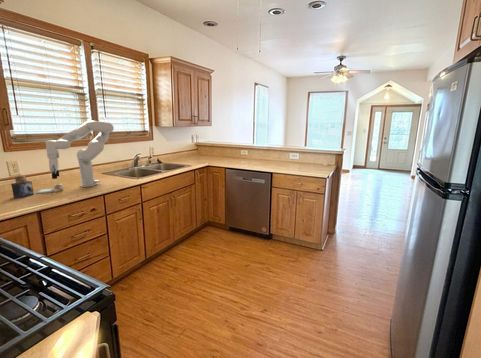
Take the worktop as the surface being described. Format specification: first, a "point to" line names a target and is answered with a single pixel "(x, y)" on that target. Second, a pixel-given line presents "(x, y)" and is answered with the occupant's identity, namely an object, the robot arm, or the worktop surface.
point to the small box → (22, 189)
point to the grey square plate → (45, 191)
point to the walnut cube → (20, 179)
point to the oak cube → (58, 187)
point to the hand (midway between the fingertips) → (55, 177)
